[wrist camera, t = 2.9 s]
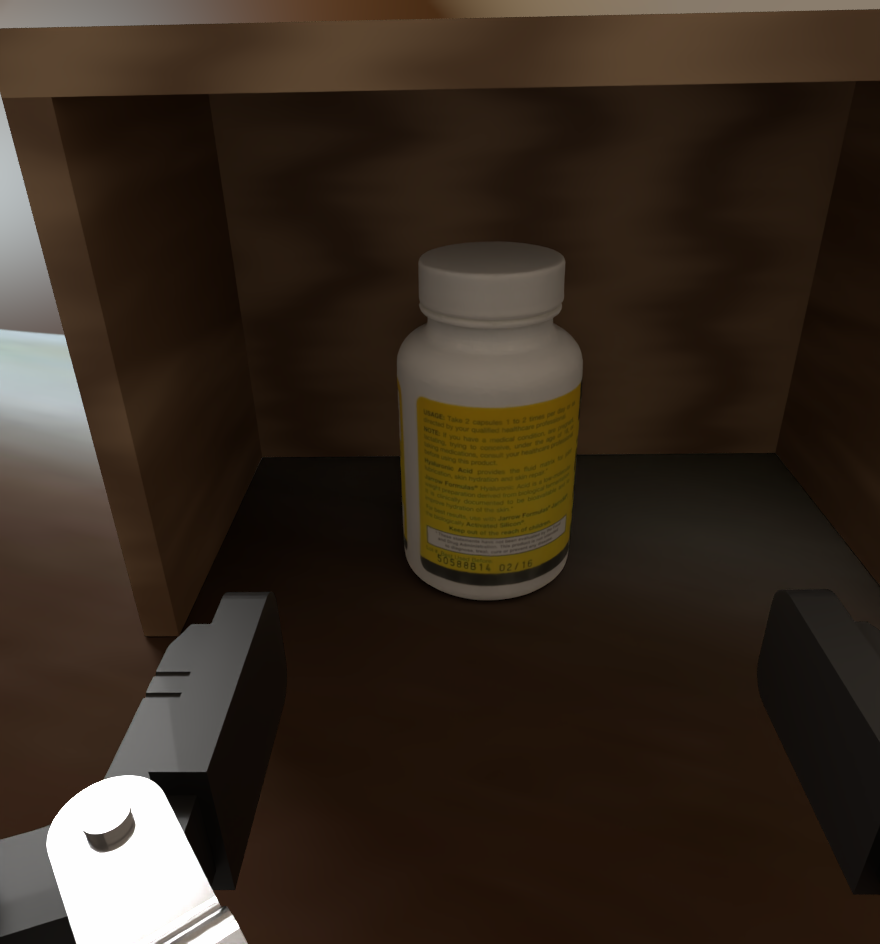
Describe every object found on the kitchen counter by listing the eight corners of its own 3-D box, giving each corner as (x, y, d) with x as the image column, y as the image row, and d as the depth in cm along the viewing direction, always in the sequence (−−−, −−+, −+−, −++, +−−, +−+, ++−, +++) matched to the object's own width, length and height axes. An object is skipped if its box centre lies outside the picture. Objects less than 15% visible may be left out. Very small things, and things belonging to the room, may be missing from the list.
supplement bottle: (603, 575, 24) (634, 264, 20) (451, 628, 22) (446, 295, 18) (513, 497, 29) (522, 227, 24) (379, 536, 27) (359, 248, 22)
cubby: (144, 636, 22) (-17, 29, 15) (243, 446, 33) (178, 35, 25) (953, 633, 22) (1203, 2, 14) (790, 441, 32) (886, 20, 25)
